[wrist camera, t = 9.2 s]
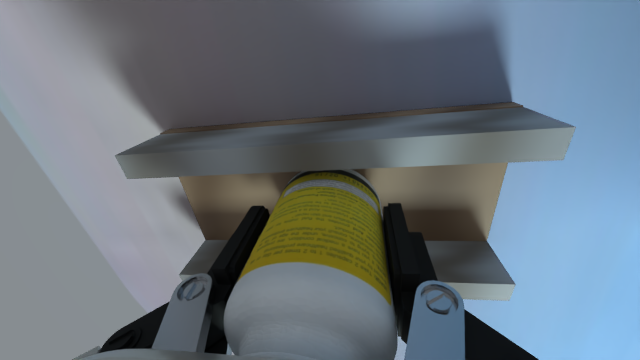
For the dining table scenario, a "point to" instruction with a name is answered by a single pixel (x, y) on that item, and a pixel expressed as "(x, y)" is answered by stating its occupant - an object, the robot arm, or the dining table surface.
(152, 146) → the track
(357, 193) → the supplement bottle
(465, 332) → the robot arm
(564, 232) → the dining table surface
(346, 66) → the dining table surface
